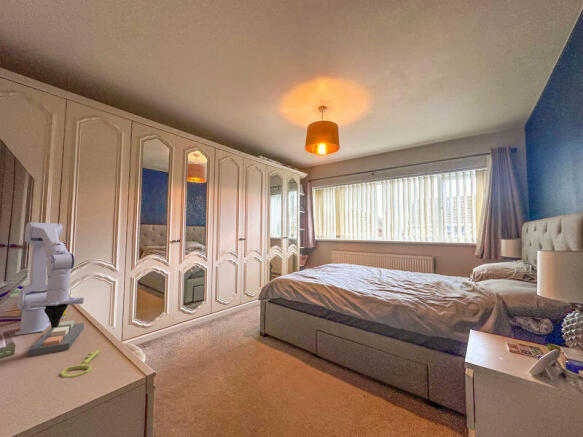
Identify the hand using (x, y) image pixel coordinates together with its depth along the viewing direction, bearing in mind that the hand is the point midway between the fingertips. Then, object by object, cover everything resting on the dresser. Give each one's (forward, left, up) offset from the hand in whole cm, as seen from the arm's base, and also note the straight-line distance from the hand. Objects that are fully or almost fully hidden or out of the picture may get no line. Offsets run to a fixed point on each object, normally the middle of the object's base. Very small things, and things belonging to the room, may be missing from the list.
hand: (55, 326), depth 83 cm
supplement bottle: (-34, -8, -8) cm, 36 cm away
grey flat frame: (-6, 0, -7) cm, 10 cm away
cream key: (-6, 0, -6) cm, 8 cm away
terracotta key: (0, 0, -7) cm, 7 cm away
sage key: (-13, 0, -6) cm, 14 cm away
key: (+18, +12, -8) cm, 23 cm away
